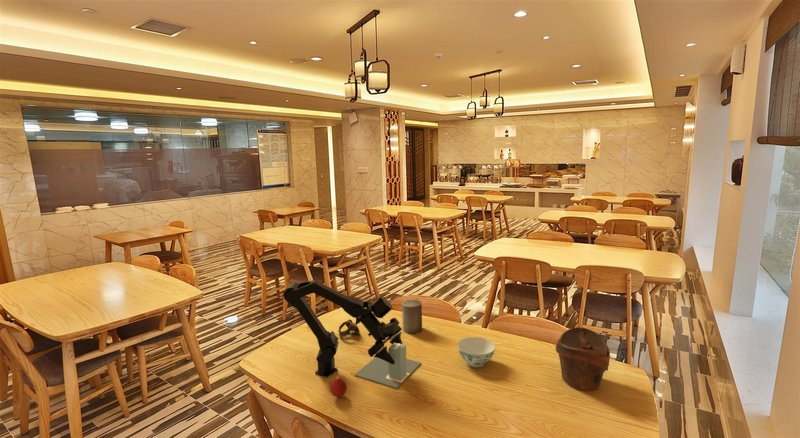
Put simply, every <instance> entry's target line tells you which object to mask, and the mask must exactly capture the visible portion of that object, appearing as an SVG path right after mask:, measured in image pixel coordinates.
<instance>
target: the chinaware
mask: <svg viewBox="0 0 800 438" xmlns="http://www.w3.org/2000/svg"><path fill="white" fill-rule="evenodd" d="M457 349H458V353H459V355H460V356H461V358H462V359H463V360H464V362H465V361H466V363H467V364H468V365H469V366H471V367H473V368H481V367H483V366H484V365H485V364H486V363H488V362H489V361H490V360H491V359H492V357H493V356H494V353H495V350H496V346H495V343H494V342H493V341H492V340H490V339H487V338H484V337H477V336H466V337H464V338H461V339H460V340H458V342H457Z"/></svg>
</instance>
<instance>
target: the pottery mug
mask: <svg viewBox="0 0 800 438" xmlns="http://www.w3.org/2000/svg"><path fill="white" fill-rule="evenodd" d="M355 323H356V322H354V321H353V320H352V319H350V318H349V319H348V320H346V321H343V322H342V323H341V324H340V325H339V327H338V331H337V332H338V335H339V337H341V338H344V337H347V336H351V332H354V333H357V334H358V337H361V332H360V328H359V326H358V324H357V325H356V324H355ZM345 326H346V328H347V329H345V330H343V331H341V330H342V328H343V327H345Z"/></svg>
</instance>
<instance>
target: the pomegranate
mask: <svg viewBox="0 0 800 438" xmlns="http://www.w3.org/2000/svg"><path fill="white" fill-rule="evenodd" d="M329 386H330V387H329V390H330V391H329V392H330V393H331V394H332V396H333V397H335V398H336V399H337V398H338V399H340V398H341V397H343V396H344V395H345V394H346V393H347V389H348V387H347V386H348V385H347V383H346V381H345V379H343V378H341V377H339V376H336V377H335V379H333V381H332V382H331V383H330V385H329Z"/></svg>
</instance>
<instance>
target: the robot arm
mask: <svg viewBox="0 0 800 438" xmlns="http://www.w3.org/2000/svg"><path fill="white" fill-rule="evenodd" d="M311 294H315V295H317V296H319V297H321V298H323V299H324V300H327V301H329V302H331V303H332V304H335V305H337V306H338V307H340V308H341V309H342V310H343V311H344V312H345V313H346V314H348V315H349V316H350V317H352V318H355V322H354V323H355V324H356V325H357V326H358V325H359V324H360V323H361V325H362V326H363V327H365V330H366V331H367V332H368V333H367V334H368V337H372V338H373V339H374V340H375V342H374V344H373V345H371V347H370V348H368V349H367V354H368V355H369V357H370V358H373V359H374V358H375V357H377V358H380V359H382V360H384V361H386V362H389V363H391V364H395V362H394V360H393V358H392V357H391V356H390V354H389V353H388V347H387V346H388V345H385V344H386V343H387V342H388V341H389V343H390V344H391V345H392V344H393V343H399V344H403V341H402V338H401V335H402V330H403V328H402V327H401V326H400V321H399V320H398V319H397V318H396V317H392V318H391V319H390V320H389V322H388V323H386V322H384V321H380V320H379V319H383V318H385V316H387V314H389V313H390V312H391V311H392V310H393V305H392V304H391V301H389V300H388V299H387V298H385V297H383V296H381V295H380V296H378V298H377V299H376V300H375V301H374V302H371V301H364V300H363V299H361V298H358V297H356V296H352V295H351V296H349V295H345V294H343V293H341V292H339V291H337V290H335V289H334V288H332V287H329V286H327V285H326V284H324V283H321V282H320V281H319V280H317V279H312V280H309V281H303V282H299V283H298V282H292V283H289V284H288V286H287V287H286V288H285V290H284V291H283V294H282V295H283V296H282V297H283V299H284V300H285V301H286V302H287V303H288V305H289V306H291V307H292V308H294V309H296V310H297V312H298V313H299V314H300V316H301V317H302V319H303V321H304V322H305V323H306V325H307V326H308V328H309V329H310V330H311V332H312V334H313V335H314V336H315V338H316V340H317V343H318V348H319V350H318V353H317V356H316V361H317V362H316V363H317V370H316V371H315V372H314V374H315V375H319V376H322V377H325V378H329V377H330V376H332V375H333V374H334V373H336V372H337V371H338V367H336V365H335V364H336V363H335V361H336V360H335V356H336V354H337V352H338V347H339V337H338V336H336V334H335V332H334V331H333V330H331V332H330V331H329V330H327V329H326V328H325V326H324V325H323V323H322V322H321V321H320V319H319V318H318V316H317V315H316V313H315V311H313V309H312V307H311V306H310V303H308V301H307V298H306V296H308V295H311Z"/></svg>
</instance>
